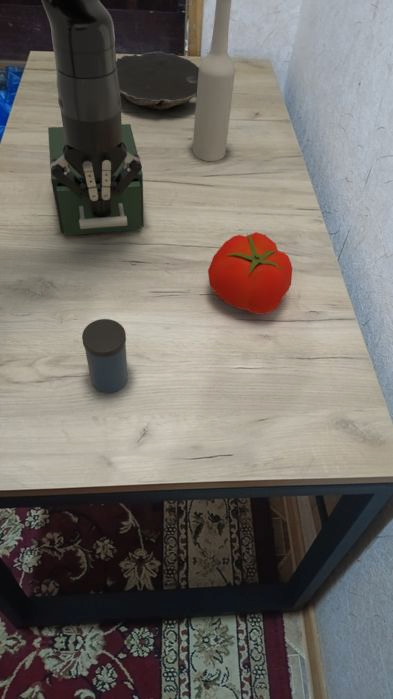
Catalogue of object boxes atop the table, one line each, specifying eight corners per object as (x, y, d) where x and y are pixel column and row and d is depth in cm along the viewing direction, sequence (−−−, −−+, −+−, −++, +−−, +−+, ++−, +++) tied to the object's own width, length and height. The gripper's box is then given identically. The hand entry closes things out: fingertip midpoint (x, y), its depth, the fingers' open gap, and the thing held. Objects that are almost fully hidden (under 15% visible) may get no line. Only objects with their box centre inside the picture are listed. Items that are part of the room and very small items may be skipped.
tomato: (195, 271, 77) (199, 228, 71) (269, 260, 80) (279, 218, 73) (219, 332, 70) (227, 291, 63) (299, 318, 73) (314, 277, 66)
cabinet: (143, 226, 83) (142, 173, 75) (61, 233, 81) (51, 179, 72) (132, 176, 91) (130, 123, 83) (57, 180, 89) (48, 127, 81)
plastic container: (91, 396, 62) (83, 354, 55) (88, 365, 65) (80, 321, 58) (131, 391, 63) (128, 349, 56) (126, 360, 66) (122, 316, 59)
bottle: (192, 160, 96) (204, -9, 74) (192, 142, 100) (203, -24, 78) (226, 162, 96) (248, -6, 74) (224, 143, 100) (244, -21, 78)
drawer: (145, 248, 78) (144, 204, 72) (66, 255, 76) (58, 211, 70) (130, 181, 89) (129, 137, 82) (60, 185, 87) (53, 141, 80)
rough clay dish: (222, 94, 113) (225, 71, 109) (169, 133, 101) (169, 108, 97) (144, 65, 119) (144, 42, 115) (85, 99, 107) (83, 75, 103)
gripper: (138, 87, 65) (141, 198, 79) (35, 90, 62) (56, 204, 76) (147, 116, 61) (148, 229, 74) (36, 121, 58) (58, 236, 72)
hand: (101, 216), depth 75 cm, fingers closed
